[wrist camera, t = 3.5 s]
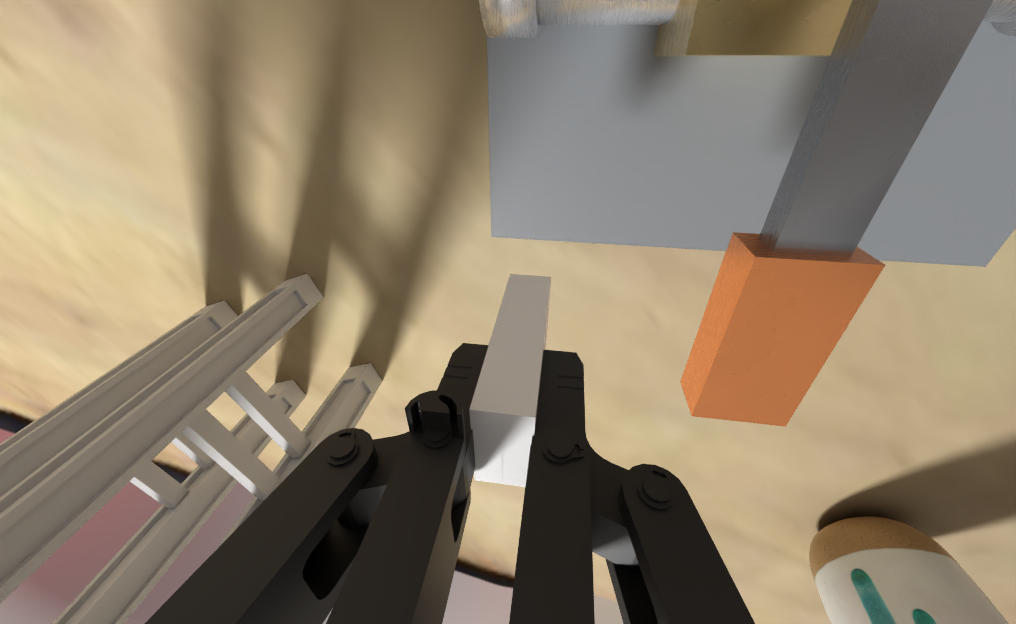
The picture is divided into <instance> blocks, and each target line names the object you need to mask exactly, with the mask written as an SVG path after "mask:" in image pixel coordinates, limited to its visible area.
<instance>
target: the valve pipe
mask: <svg viewBox="0 0 1016 624" xmlns="http://www.w3.org/2000/svg"><path fill="white" fill-rule="evenodd" d="M851 2H852V0H479V6H480V12H481V17H482V22H483V26H484V29H485V32H486V35H487V36H488V37H489V38H539V35H540V29H541V26H560V25H659V27H658V32H657V38H656V43H655V49H654V54H653V56H757V57H830V56H831V53H832V51H833V48H834V45H835V43H836V40H837V38H838V35H839V33H840V30H841V28H842V25H843V23H844V20H845V18H846V15H847V12H848V10H849V7H850V5H851ZM982 22H990V23H991V25H992V26H993V28H994V29H995V30H996V31H997V32H999V33H1001V34H1004V35H1008V36H1016V0H993V2H992V4H991V6H990V8H989V9H988V11H987V13H986V15H985V17H984V18H983V20H982Z"/></svg>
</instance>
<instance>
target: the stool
mask: <svg viewBox="0 0 1016 624" xmlns="http://www.w3.org/2000/svg"><path fill="white" fill-rule="evenodd" d="M322 298H324V297H323V295H322V294H321V293H320V291H319V290H318V288H317V287H316V285H315V284H314V282H313V281H312V280H311V278H310V277H309V275H308V274H304V275H301V276H298V277H295V278H292V279H289V280H285V281H284V282H282V283H281V284H280V285H278V286H277V287H276V288H274V289H273V290H272V291H271V292H269V293H268V294H267V295H265V296H264V297H263V298H261V299H260V300H259V301H257V302H256V303H255V304H253V305H252V306H251V307H250V308H248V309H247V310H246V311H244V312H243V313H242V314H240V315H239V316H238V315H237V314H236V313H235V312H234V311H233V310H232V308H231V307H230V306H229V305H228V304H227V303H226V301H225V300H224V301H221V302H218V303H215V304H212V305H208V306H205V307H204V308H203V309H201V310H200V311H198V312H197V313H195V314H194V315H192V316H191V317H189V318H188V319H186V320H185V321H183V322H182V323H180V324H179V325H177V326H176V327H174V328H173V329H171V330H170V331H168V332H167V333H165V334H164V335H162V336H161V337H159V338H158V339H156V340H155V341H153V342H152V343H150V344H149V345H147V346H146V347H144V348H143V349H141V350H140V351H138V352H137V353H135V354H134V355H132V356H131V357H129V358H128V359H126V360H125V361H123V362H122V363H120V364H119V365H117V366H116V367H114V368H113V369H111V370H110V371H108V372H107V373H105V374H104V375H102V376H101V377H99V378H98V379H96V380H95V381H93V382H92V383H90V384H89V385H87V386H86V387H84V388H83V389H81V390H80V391H78V392H77V393H75V394H74V395H73V396H71V397H70V398H68V399H67V400H65V401H64V402H62V403H61V404H59V405H58V406H56V407H55V408H53V409H52V410H50V411H49V412H47V413H46V414H44V415H43V416H41V417H40V418H38V419H37V420H35V421H34V422H32V423H31V424H29V425H28V426H26V427H25V428H23V429H22V430H20V431H19V432H17V433H16V434H14V435H13V436H11V437H10V438H8V439H7V440H5V441H4V442H2V443H1V444H0V604H1V603H2V601H4V600H5V599H6V598H7V597H8V596H9V595H10V594H11V593H12V592H13V591H14V590H15V589H16V588H17V587H18V586H20V584H22V583H23V582H24V581H25V580H26V579H27V578H28V577H29V576H30V575H31V574H32V573H33V572H34V571H35V570H36V569H37V568H39V567H40V566H41V565H42V564H43V563H44V562H45V561H46V560H47V559H48V558H49V557H50V556H51V555H52V554H53V553H54V552H55V551H56V550H57V549H59V548H60V547H61V546H62V545H63V544H64V543H65V542H66V541H67V540H68V539H69V538H70V537H71V536H72V535H73V534H74V533H75V532H77V531H78V530H79V529H80V528H81V527H82V526H83V525H84V524H85V523H86V522H87V521H88V520H89V519H90V518H91V517H92V516H93V515H94V514H95V513H97V511H99V510H100V509H101V508H102V507H103V506H104V505H105V504H106V503H107V502H108V501H109V500H110V499H111V498H112V497H113V496H114V495H115V494H117V493H118V492H119V491H120V490H121V489H122V488H123V487H124V486H125V485H126V484H127V483H128V482H129V481H130V482H132V483H133V484H134V485H136V486H137V487H138V488H140V489H141V490H143V491H144V492H145V493H147V494H148V495H150V496H151V497H152V498H154V499H155V500H157V501H158V502H159V503H161V504H162V506H161V507H160V508H159V509H158V510H157V511H156V512H155V513H154V514H153V515H152V516H151V517H150V518H149V520H148V521H147V522H146V523H145V524H144V525H143V526H142V527H141V528H140V529H139V530H138V531H137V532H136V534H135V535H134V536H133V537H132V538H131V539H130V540H129V541H128V542H127V543H126V545H124V547H123V548H122V549H121V550H120V551H119V552H118V553H117V554H116V555H115V556H114V557H113V558H112V559H111V561H110V562H109V563H108V564H107V565H106V566H105V567H104V568H103V569H102V570H101V571H100V572H99V574H98V575H97V576H96V577H95V578H94V579H93V580H92V581H91V582H90V583H89V584H88V586H87V587H86V588H85V589H84V590H83V591H82V592H81V593H80V594H79V595H78V596H77V597H76V598H75V599H74V601H73V602H72V603H71V604H70V605H69V606H68V607H67V608H66V609H65V610H64V611H63V612H62V613H61V615H60V616H59V617H58V618H57V619H56V620H55V621H54V622H53V623H52V624H124V623H125V622H126V621H127V620H128V618H129V617H130V616H131V615H132V613H133V612H134V611H135V610H136V608H137V607H138V606H139V605H140V603H141V602H142V601H143V600H144V598H145V597H146V596H147V595H148V593H149V592H150V591H151V590H152V588H153V587H154V586H155V585H156V583H157V582H158V581H159V580H160V578H161V577H162V576H163V575H164V573H165V572H166V571H167V570H168V568H169V567H170V566H171V565H172V563H173V562H174V561H175V560H176V558H177V557H178V556H179V555H180V553H181V552H182V551H183V550H184V548H185V547H186V546H187V544H188V543H189V542H190V541H191V540H192V538H193V537H194V535H196V533H197V532H198V531H199V530H200V528H201V527H202V526H203V525H204V523H205V522H206V521H207V519H208V518H209V517H210V516H211V514H212V513H213V512H214V511H215V510H216V508H217V507H218V506H219V505H220V503H221V502H222V501H223V499H224V498H225V497H226V496H227V494H228V493H229V492H230V491H231V489H232V488H233V487H234V486H235V484H236V483H237V482H238V481H239V482H240V483H241V484H242V485H243V486H244V487H245V488H247V489H248V490H249V491H250V492H251V493H253V494H254V495H255V496H254V498H253V499H252V501H251V502H250V503H249V505H248V506H247V507H246V509H245V510H244V511H243V513H242V514H241V515H240V517H239V518H238V520H237V521H236V522H235V524H234V525H233V527H232V528H231V529H230V530H229V532H228V533H227V535H226V536H225V537H224V539H223V540H222V541H221V543H220V544H219V546H218V547H217V548H216V550H217V549H218V548H219V547H220V545H221V544H222V543H223V542H224V541H225V540H226V539H227V538H228V537H229V536H230V535H231V534H232V533H233V532H234V531H235V530H236V529H237V528H238V527H239V526H240V525H241V524H242V523H243V522H244V521H245V520H246V519H247V518H248V517H249V516H250V515H251V514H252V512H253V511H254V510H255V509H256V508H257V507H258V506H259V505H260V504H261V503H262V502H263V501H264V500H265V499H266V498H267V497H268V496H269V495H270V494H271V493H272V492H273V491H274V490H275V489H276V488H277V487H278V486H279V485H280V484H281V483H282V482H283V481H284V479H285V478H286V477H287V476H288V475H289V474H290V473H291V472H292V471H293V470H294V469H295V468H296V467H297V466H298V465H299V464H300V463H301V462H302V461H303V460H304V459H305V458H306V457H307V456H308V455H309V454H310V453H311V452H312V451H313V450H314V449H315V447H316V446H317V445H318V444H319V443H320V442H322V441H323V440H324V439H325V438H327V437H328V436H329V435H331V434H333V433H335V432H337V431H340V430H342V429H349V428H355V426H356V424H357V423H358V421H359V419H360V418H361V416H362V414H363V413H364V411H365V409H366V408H367V406H368V404H369V403H370V401H371V399H372V398H373V396H374V394H375V393H376V391H377V389H378V388H379V386H380V384H381V383H382V379H381V378H380V377H379V375H378V374H377V372H376V371H375V369H374V368H373V367H372V365H371V364H370V363H368V364H363V365H358V366H353V367H349V368H348V370H347V371H346V372H345V374H344V375H343V376H342V378H341V379H340V380H339V382H338V383H337V385H336V386H335V387H334V389H333V390H332V391H331V393H330V394H329V395H328V397H327V398H326V400H325V401H324V402H323V404H322V405H321V406H320V408H319V409H318V410H317V412H316V413H315V415H314V416H313V417H312V419H311V420H310V421H309V423H308V424H307V425H306V427H305V428H304V430H303V431H302V432H301V431H300V430H299V429H298V428H297V426H296V425H295V424H294V423H293V422H292V421H291V420H290V419H289V417H290V416H291V414H292V413H293V412H294V411H295V409H296V408H297V407H298V406H299V404H300V403H301V402H302V401H303V399H304V398H305V397H306V395H305V394H304V392H303V391H302V390H301V389H300V388H299V387H298V385H297V384H296V383H295V382H294V381H293V380H288V381H284V382H279V383H275V384H274V385H273V386H272V387H271V388H270V389H269V390H268V391H267V392H266V393H265V392H264V391H263V390H262V389H261V388H260V386H259V385H258V384H257V383H256V382H255V381H254V380H253V379H252V378H251V377H250V376H249V375H248V374H247V372H246V370H248V369H249V368H250V367H251V366H252V365H253V364H254V363H255V362H256V361H257V360H258V359H259V358H260V357H261V356H262V355H263V354H264V353H265V352H267V351H268V350H269V349H270V348H271V347H272V346H273V345H274V344H275V343H276V342H277V341H278V340H279V339H280V338H281V337H282V336H283V335H284V334H286V333H287V332H288V331H289V330H290V329H291V328H292V327H293V326H294V325H295V324H296V323H297V322H298V321H299V320H300V319H301V318H302V317H303V316H305V315H306V314H307V313H308V312H309V311H310V310H311V309H312V308H313V307H314V306H315V305H316V304H317V303H318V302H319V301H320V300H321V299H322ZM224 391H225V392H226V393H227V394H228V395H229V396H230V397H231V398H232V399H233V400H234V401H235V402H236V403H237V404H238V405H239V406H240V407H241V408H242V409H243V410H244V411H245V412H246V413H247V414H246V415H245V416H244V417H243V418H242V419H241V420H240V421H239V422H238V423H237V425H236V426H235V427H234V428H233V429H232V430H231V431H228V430H227V429H226V428H225V427H224V426H223V425H222V424H221V423H220V422H219V421H218V420H217V419H216V418H215V417H214V416H213V415H211V414H210V413H209V412H208V411H207V410H206V408H207V407H208V406H210V405H211V404H212V403H213V402H214V401H215V400H216V399H217V398H218V397H219V396H220V395H221V394H222V393H223V392H224ZM271 439H273V440H274V441H275V442H276V443H277V444H278V445H279V446H280V447H281V448H282V449H283V450H284V451H285V452H286V454H285V455H284V457H283V458H282V460H281V461H280V462H279V464H278V465H277V466H276V468H275V469H274V470H273V472H272V471H271V470H270V469H269V468H268V467H267V466H266V465H265V464H264V463H263V462H261V461H260V460H259V459H258V458H257V457H258V456H259V454H260V453H261V452H262V451H263V449H264V448H265V447H266V446H267V444H268V443H269V442H270V441H271ZM170 442H172V443H173V444H174V445H175V446H176V447H178V448H179V449H180V450H181V451H182V452H184V453H185V454H186V455H187V456H188V457H190V458H191V459H192V460H193V461H194V462H196V463H197V464H198V465H199V466H198V467H197V468H196V469H195V470H194V471H193V472H192V473H191V474H190V475H189V476H188V477H187V479H186V480H185V481H184V482H183V483H182V484H180V483H178V482H177V481H176V480H175V479H173V478H172V477H171V476H169V475H168V474H167V473H166V472H164V471H163V470H162V469H160V468H159V467H158V466H157V465H155V464H154V463H153V462H151V460H153V459H154V458H155V457H156V456H157V455H158V454H159V453H160V452H161V451H162V450H163V449H164V448H165V447H166V446H167V445H168V444H169V443H170ZM216 550H215V551H216ZM215 551H214V552H215ZM214 552H213V553H214Z"/></svg>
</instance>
